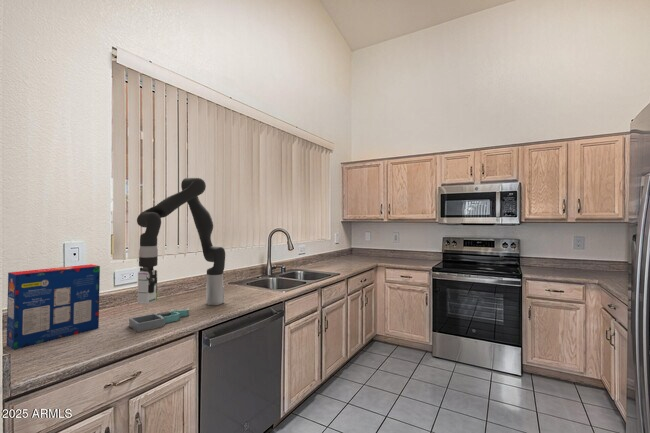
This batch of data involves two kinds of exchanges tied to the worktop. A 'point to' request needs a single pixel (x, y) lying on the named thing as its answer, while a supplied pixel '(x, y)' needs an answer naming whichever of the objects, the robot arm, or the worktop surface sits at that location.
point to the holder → (146, 322)
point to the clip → (171, 318)
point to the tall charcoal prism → (164, 314)
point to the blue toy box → (51, 304)
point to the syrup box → (145, 289)
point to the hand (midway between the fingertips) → (147, 291)
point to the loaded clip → (181, 312)
